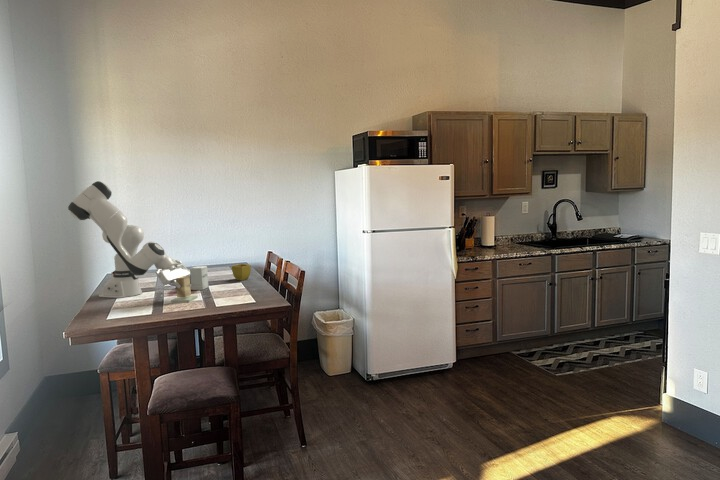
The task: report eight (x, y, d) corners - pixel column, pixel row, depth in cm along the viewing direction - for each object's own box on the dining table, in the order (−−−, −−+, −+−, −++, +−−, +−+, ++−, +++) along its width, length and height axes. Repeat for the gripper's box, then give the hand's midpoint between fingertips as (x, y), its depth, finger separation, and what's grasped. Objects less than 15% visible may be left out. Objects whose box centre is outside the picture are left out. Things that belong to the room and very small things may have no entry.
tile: (171, 302, 280) (170, 300, 280) (179, 297, 289) (179, 295, 289) (189, 301, 278) (189, 300, 278) (197, 297, 288) (197, 295, 288)
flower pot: (252, 278, 337) (251, 264, 336) (242, 281, 330) (241, 266, 329) (242, 277, 342) (241, 263, 341) (231, 280, 335) (230, 266, 334)
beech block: (177, 296, 282) (175, 278, 281) (182, 294, 287) (181, 276, 285) (185, 297, 280) (183, 278, 279) (191, 295, 285) (189, 276, 284)
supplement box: (202, 290, 308) (201, 268, 307) (190, 289, 310) (189, 268, 308) (208, 287, 315) (207, 265, 314) (197, 287, 317) (195, 266, 315)
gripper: (157, 266, 274) (175, 286, 272) (182, 260, 293) (198, 278, 291) (150, 274, 276) (168, 294, 274) (175, 268, 295) (192, 286, 293)
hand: (184, 286), depth 283 cm, fingers closed on beech block, 5 cm apart
